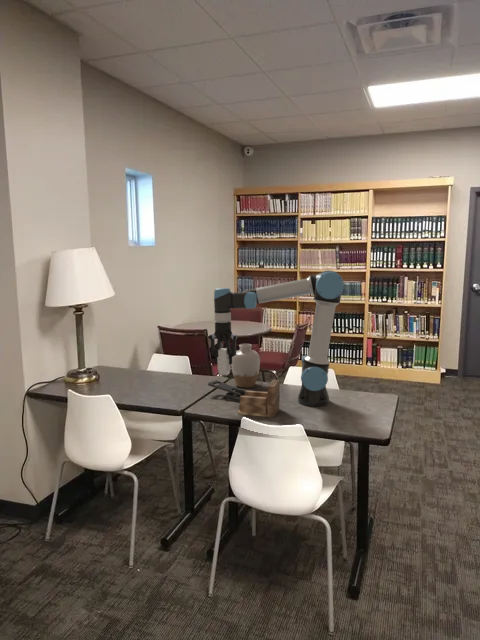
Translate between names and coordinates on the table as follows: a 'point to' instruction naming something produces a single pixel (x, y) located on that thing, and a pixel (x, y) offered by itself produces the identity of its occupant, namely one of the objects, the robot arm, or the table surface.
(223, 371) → the white tall block
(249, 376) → the vase
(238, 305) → the robot arm
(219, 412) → the table surface
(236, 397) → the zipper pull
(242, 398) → the wooden box
